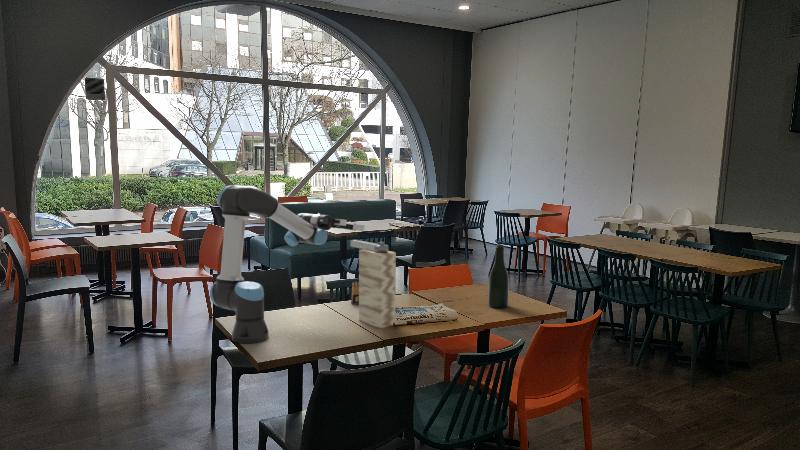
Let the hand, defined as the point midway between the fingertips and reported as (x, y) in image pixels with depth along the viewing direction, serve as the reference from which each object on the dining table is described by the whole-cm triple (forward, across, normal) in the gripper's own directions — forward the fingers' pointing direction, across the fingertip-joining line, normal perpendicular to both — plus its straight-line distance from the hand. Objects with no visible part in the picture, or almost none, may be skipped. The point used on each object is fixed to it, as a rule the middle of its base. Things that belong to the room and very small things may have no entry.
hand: (355, 225), depth 260 cm
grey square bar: (+5, +7, +10) cm, 13 cm away
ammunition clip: (-18, +38, +37) cm, 56 cm away
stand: (+11, +15, +43) cm, 47 cm away
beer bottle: (+44, +75, +26) cm, 90 cm away
